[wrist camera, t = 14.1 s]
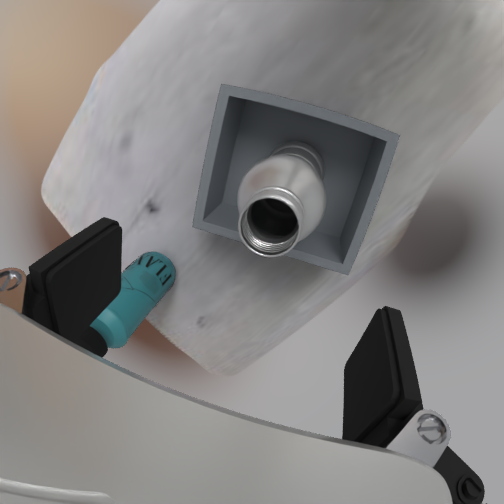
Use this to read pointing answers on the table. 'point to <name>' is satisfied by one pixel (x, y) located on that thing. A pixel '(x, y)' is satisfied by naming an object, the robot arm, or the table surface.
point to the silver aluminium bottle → (281, 199)
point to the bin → (317, 136)
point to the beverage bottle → (129, 303)
